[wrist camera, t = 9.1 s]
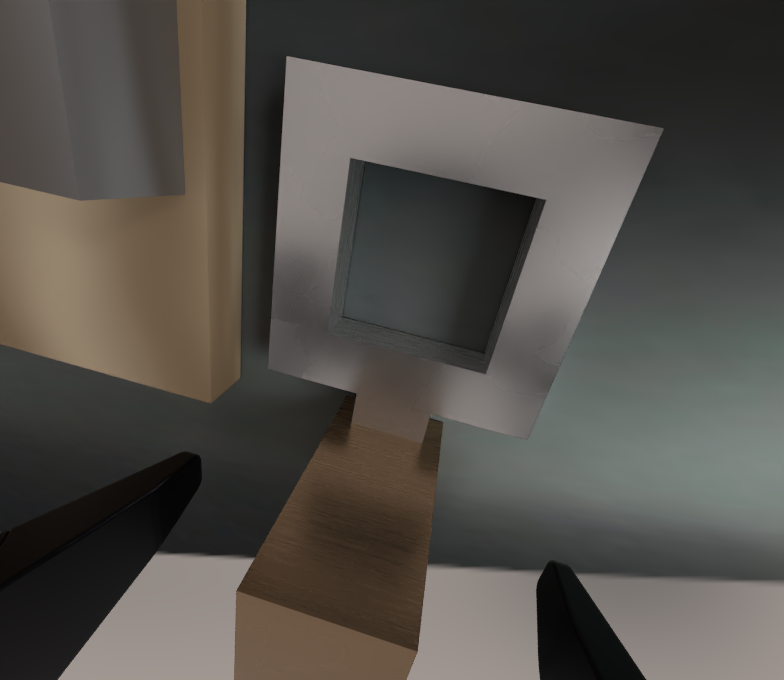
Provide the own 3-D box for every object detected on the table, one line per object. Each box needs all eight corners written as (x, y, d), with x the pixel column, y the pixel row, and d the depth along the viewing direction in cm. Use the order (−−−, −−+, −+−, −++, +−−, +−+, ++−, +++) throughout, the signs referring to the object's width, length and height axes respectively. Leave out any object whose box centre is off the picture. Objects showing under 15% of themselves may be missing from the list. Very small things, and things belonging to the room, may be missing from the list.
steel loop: (636, 135, 8) (1039, 32, 2) (480, 512, 12) (488, 776, 7) (310, 72, 8) (10, -128, 3) (279, 452, 13) (141, 650, 8)
